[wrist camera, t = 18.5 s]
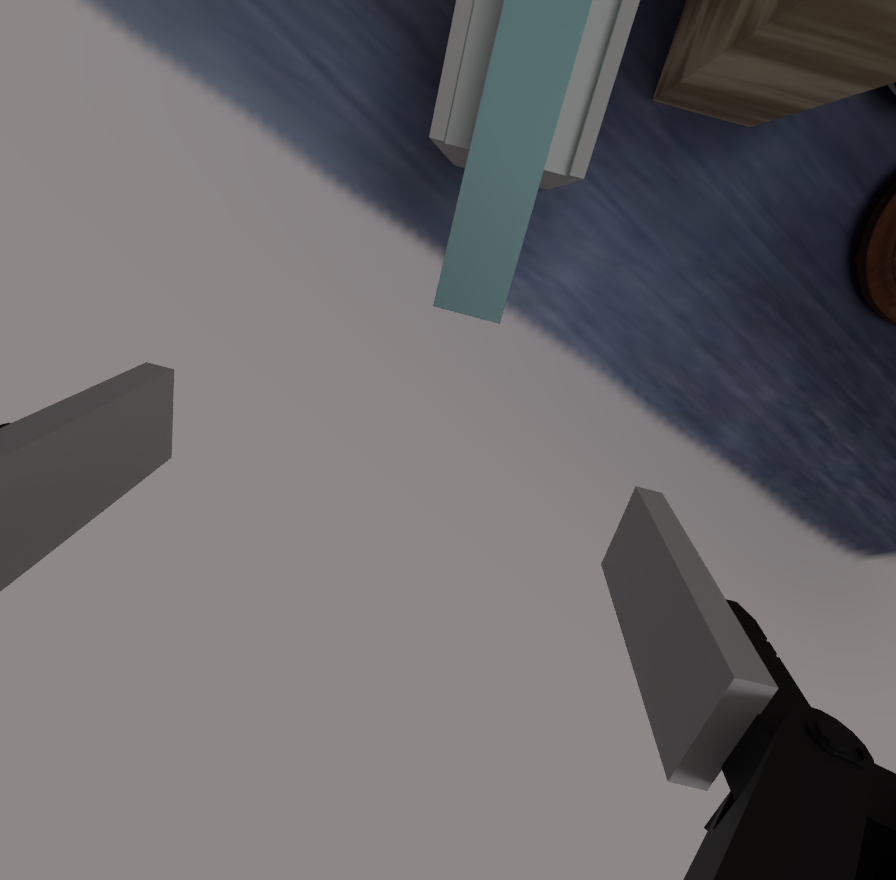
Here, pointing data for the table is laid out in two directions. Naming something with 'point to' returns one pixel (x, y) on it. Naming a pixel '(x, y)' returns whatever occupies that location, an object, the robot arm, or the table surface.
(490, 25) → the block
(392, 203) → the table surface
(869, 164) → the table surface
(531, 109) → the teal block
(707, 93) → the brown tall block
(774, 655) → the robot arm
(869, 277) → the scroll
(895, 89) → the pump dispenser
